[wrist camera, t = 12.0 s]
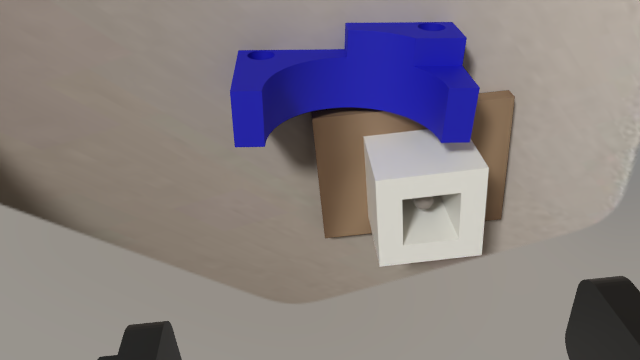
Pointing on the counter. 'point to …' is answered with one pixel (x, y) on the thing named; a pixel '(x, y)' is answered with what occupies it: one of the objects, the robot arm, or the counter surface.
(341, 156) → the pin base
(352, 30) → the blue curved saddle bracket
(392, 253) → the white hollow square block
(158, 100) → the counter surface
